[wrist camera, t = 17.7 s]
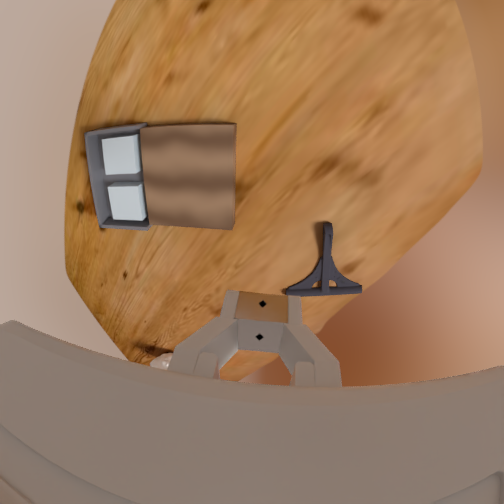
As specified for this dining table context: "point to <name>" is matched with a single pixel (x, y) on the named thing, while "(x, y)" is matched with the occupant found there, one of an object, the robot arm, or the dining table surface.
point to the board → (190, 174)
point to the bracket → (325, 274)
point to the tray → (110, 177)
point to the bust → (162, 361)
